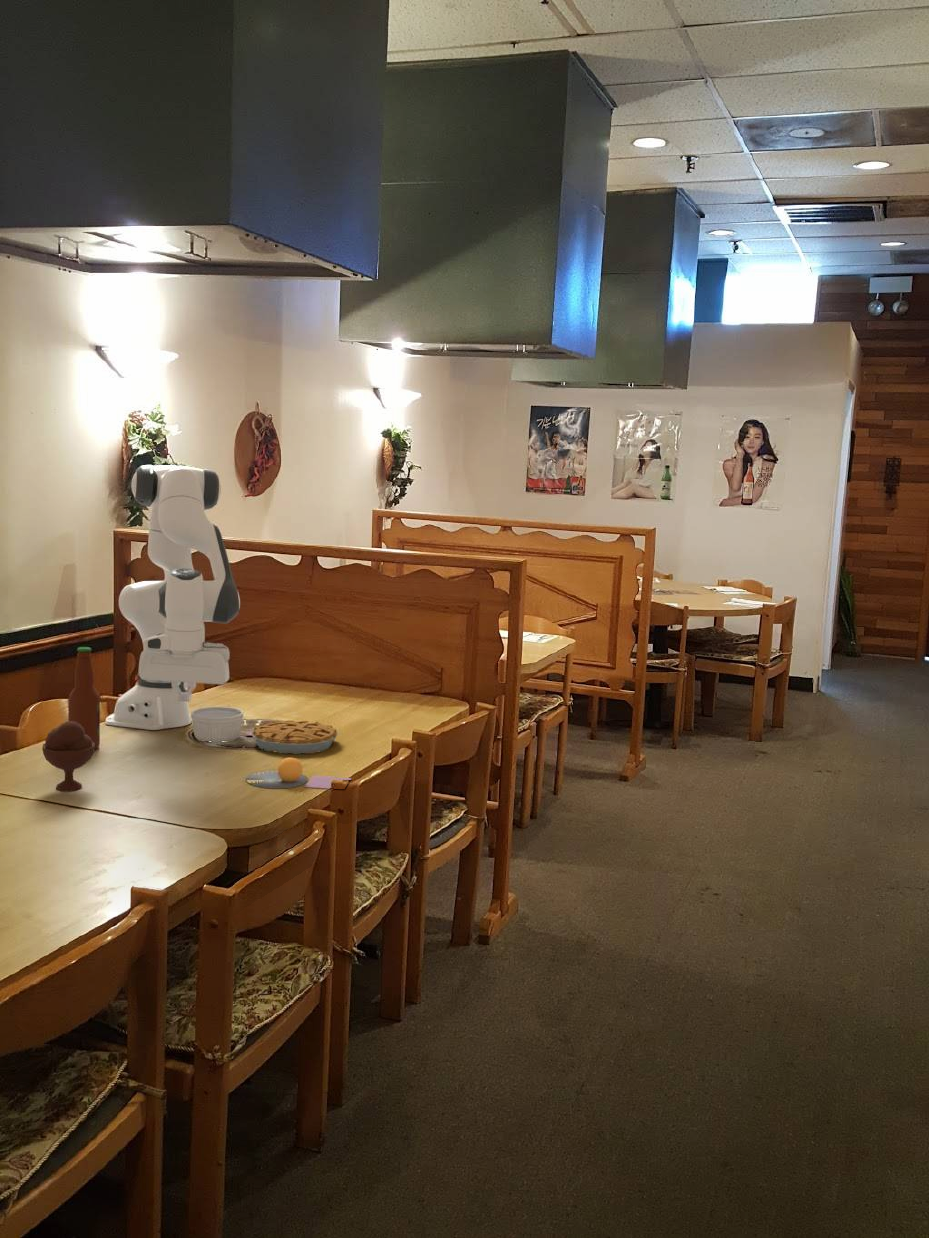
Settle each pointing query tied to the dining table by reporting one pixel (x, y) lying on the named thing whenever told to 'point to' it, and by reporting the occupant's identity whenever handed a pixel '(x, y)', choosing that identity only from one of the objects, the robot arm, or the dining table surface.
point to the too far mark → (322, 782)
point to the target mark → (275, 780)
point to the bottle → (85, 698)
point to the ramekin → (217, 723)
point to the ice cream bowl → (68, 752)
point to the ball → (289, 769)
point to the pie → (294, 736)
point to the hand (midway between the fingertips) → (183, 700)
